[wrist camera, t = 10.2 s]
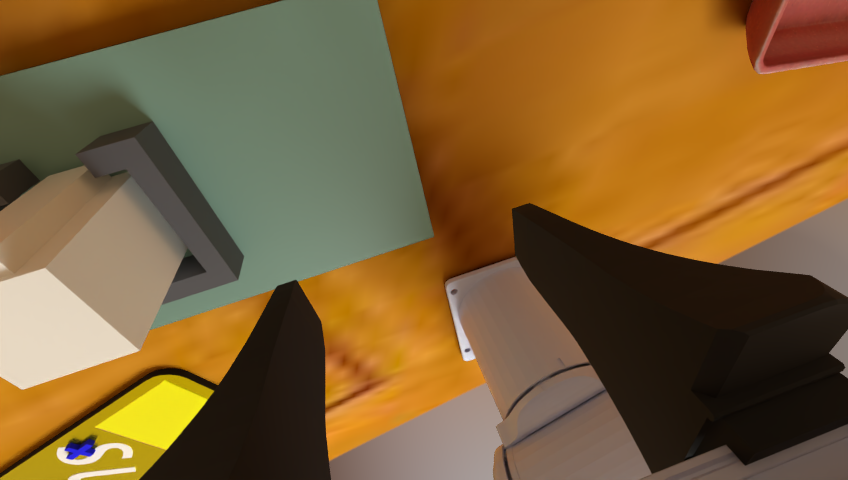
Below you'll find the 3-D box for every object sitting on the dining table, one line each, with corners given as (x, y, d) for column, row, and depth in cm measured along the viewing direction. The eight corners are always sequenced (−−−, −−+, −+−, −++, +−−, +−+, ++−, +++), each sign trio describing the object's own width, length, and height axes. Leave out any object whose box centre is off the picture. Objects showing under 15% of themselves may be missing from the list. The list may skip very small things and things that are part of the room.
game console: (163, 352, 24) (156, 371, 23) (288, 410, 30) (287, 427, 29) (-17, 480, 26) (-32, 503, 25) (135, 508, 33) (128, 527, 32)
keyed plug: (191, 239, 18) (140, 350, 13) (111, 264, 18) (22, 389, 12) (125, 152, 15) (20, 246, 10) (27, 180, 15) (-137, 294, 10)
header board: (430, 227, 23) (443, 256, 20) (140, 322, 21) (119, 364, 19) (368, -23, 15) (379, -24, 13) (-95, 101, 14) (-181, 125, 11)
